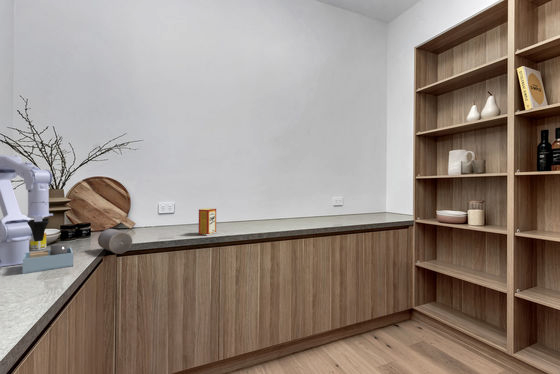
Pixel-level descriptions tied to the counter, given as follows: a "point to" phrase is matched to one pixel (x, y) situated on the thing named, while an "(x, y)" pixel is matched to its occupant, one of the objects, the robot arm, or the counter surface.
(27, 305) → the counter surface
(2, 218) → the robot arm
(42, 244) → the supplement bottle
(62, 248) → the grey cylinder
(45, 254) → the oak block
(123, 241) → the pillar candle
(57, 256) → the tote
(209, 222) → the baking soda box
